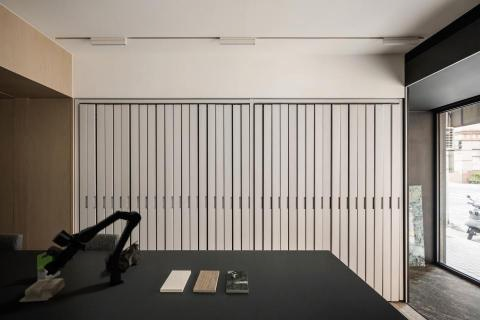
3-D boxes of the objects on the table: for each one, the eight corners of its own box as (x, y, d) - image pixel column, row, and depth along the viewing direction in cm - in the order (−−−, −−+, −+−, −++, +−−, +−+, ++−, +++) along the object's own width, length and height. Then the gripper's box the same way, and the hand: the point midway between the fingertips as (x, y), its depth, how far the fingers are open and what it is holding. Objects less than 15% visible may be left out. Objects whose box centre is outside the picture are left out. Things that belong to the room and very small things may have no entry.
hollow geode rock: (119, 282, 167) (137, 264, 166) (103, 267, 167) (120, 248, 166) (138, 262, 195) (153, 246, 194) (124, 249, 195) (139, 233, 194)
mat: (62, 285, 153) (62, 284, 153) (47, 300, 138) (46, 298, 138) (37, 287, 152) (37, 286, 152) (19, 302, 137) (19, 300, 137)
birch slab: (64, 278, 152) (39, 279, 150) (52, 288, 140) (25, 290, 139) (64, 285, 152) (39, 287, 151) (52, 297, 140) (25, 298, 139)
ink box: (45, 282, 158) (44, 256, 158) (36, 281, 159) (35, 256, 159) (60, 274, 168) (59, 250, 168) (52, 273, 169) (51, 249, 169)
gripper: (66, 235, 155) (44, 257, 154) (47, 246, 136) (22, 271, 135) (82, 249, 156) (61, 271, 155) (66, 262, 137) (41, 287, 136)
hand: (47, 275), depth 145 cm, fingers closed
